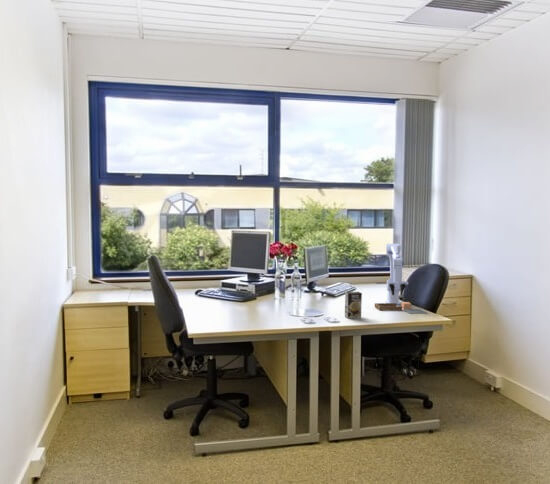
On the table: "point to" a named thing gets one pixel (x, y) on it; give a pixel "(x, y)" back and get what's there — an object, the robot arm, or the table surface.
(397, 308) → the cubby
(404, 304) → the block
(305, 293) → the table surface
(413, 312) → the mat
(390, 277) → the robot arm
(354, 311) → the coffee box
